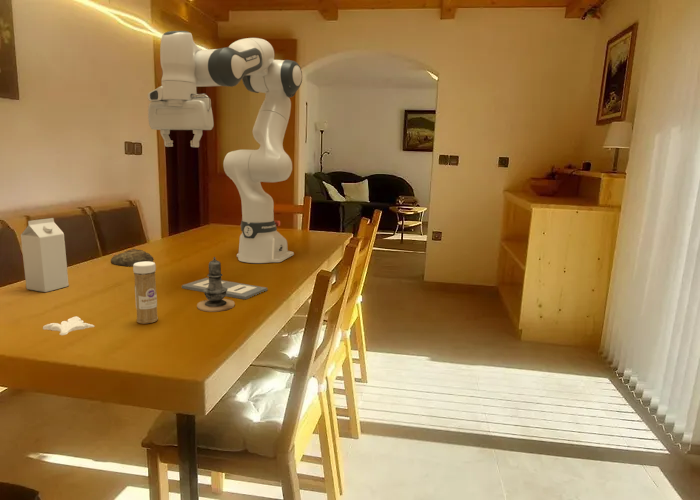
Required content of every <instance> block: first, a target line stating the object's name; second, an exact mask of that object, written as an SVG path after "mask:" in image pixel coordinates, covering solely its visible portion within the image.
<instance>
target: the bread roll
mask: <svg viewBox="0 0 700 500" xmlns="http://www.w3.org/2000/svg"><path fill="white" fill-rule="evenodd" d="M154 260H155V258H154V257H153V256H152V255H151V254H150V253H148V252H146V251H144V250H142V249H137V248H132V249H128V250H126V251H124V252H121V253H118V254H114V255H113V256H112V257H111V259H110V263H111V264H114V265H116V266H123V267H128V266H129V267H133V264H134V263H137V262H145V261H149V262H154Z"/></svg>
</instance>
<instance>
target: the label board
mask: <svg viewBox="0 0 700 500" xmlns="http://www.w3.org/2000/svg"><path fill="white" fill-rule="evenodd" d="M221 282H222V286H223V287H225V288H227V289H228V290H227V291H226V296H225V297H229V298H234V299H240V300H245V299H246V300H248V299H251V298H252V296H253V297H255V296H257V294H258V295H260V294H262V293H261V292H263V293H264V291H265V292H267V291H268V287H265V286H259V285H252V284H246V283H240V282H235V281H230V280H229V281H228V280H223V279H221ZM208 286H209V277H204V278H201V279H197V280H195V281H191V282H188V283H184V284H181V289H186V290H191V291H197V292H200V293H201V292H202V293H204V292H203V290H204V289H205V288H208ZM259 293H260V294H259ZM254 295H255V296H254ZM250 297H251V298H250Z"/></svg>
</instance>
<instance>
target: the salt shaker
mask: <svg viewBox="0 0 700 500" xmlns="http://www.w3.org/2000/svg"><path fill="white" fill-rule="evenodd" d="M221 268H222V265H221V261H219V260H217V258H216V257H215V256H213V259H212V260H210V261H209V262H208V274H207V278H209V286H208V288H205V289H204V290H203V292H202V293H204V295H205V298H206V300H209V301H207V302H206V303H205V305H206V306H209V307H219V306H223V305H226V304H227V302H226V301H224V300H222V299H225V297H227V296H226V291H227V290H228V289H227V288H225V287H223V286H222V282H221V280H222V276H223V273H222V270H221Z"/></svg>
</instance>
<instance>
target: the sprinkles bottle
mask: <svg viewBox="0 0 700 500" xmlns="http://www.w3.org/2000/svg"><path fill="white" fill-rule="evenodd" d="M132 268H133V269H132V270H133V271H132V272H133V274H134V295H135V298H134V299H135V309H136V322H137V323H138V324H144V325H145V324H152V323H155V322H157V321H158V319H159V317H158V296H157V286H156V285H157V284H156V270H157V265H156V263H155V261H153V262H149V261H145V262H137V263H134V264H133V266H132Z"/></svg>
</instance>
